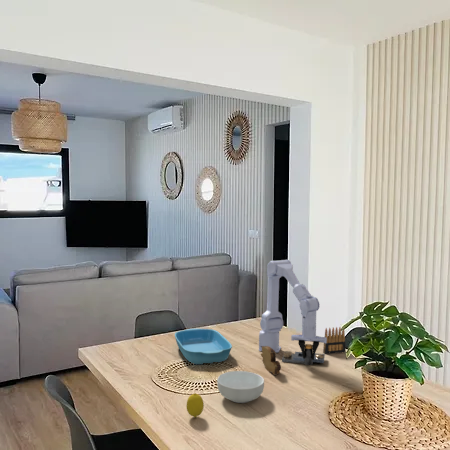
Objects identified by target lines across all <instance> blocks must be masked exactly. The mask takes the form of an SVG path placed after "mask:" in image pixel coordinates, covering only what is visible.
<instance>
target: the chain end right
mask: <svg viewBox="0 0 450 450" xmlns="http://www.w3.org/2000/svg"><path fill="white" fill-rule="evenodd" d="M293 354H294V357H293V360H298V361H305V359H303V357H299V356H303V355H302V351H295V352H294V353H293ZM325 356H326V354H324V353H316V352H315V356H314V360H312V363H316V364H318V365H319V364H324V362H325Z"/></svg>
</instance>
